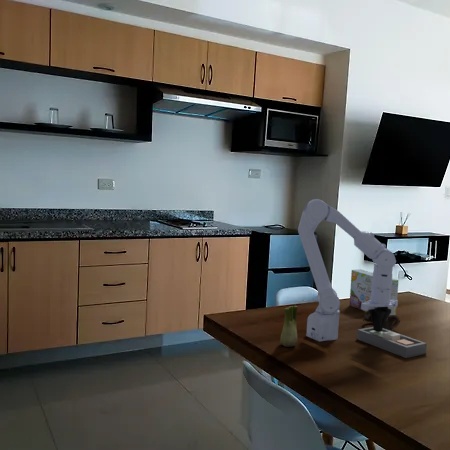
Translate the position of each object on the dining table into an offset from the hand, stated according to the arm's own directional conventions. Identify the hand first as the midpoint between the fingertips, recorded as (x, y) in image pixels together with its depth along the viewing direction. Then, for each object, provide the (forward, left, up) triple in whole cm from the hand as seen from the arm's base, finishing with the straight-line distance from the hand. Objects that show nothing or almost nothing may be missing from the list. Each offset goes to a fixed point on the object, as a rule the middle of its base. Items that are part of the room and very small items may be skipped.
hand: (377, 330), depth 151 cm
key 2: (0, -10, -3) cm, 10 cm away
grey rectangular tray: (0, -5, -4) cm, 7 cm away
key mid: (0, -5, -2) cm, 5 cm away
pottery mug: (+13, +9, -5) cm, 17 cm away
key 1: (0, 0, -3) cm, 3 cm away
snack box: (+30, +28, -4) cm, 41 cm away
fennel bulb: (-27, +10, -4) cm, 29 cm away
